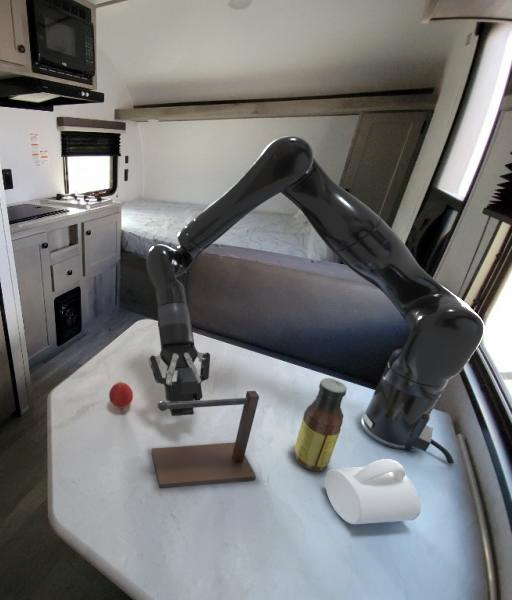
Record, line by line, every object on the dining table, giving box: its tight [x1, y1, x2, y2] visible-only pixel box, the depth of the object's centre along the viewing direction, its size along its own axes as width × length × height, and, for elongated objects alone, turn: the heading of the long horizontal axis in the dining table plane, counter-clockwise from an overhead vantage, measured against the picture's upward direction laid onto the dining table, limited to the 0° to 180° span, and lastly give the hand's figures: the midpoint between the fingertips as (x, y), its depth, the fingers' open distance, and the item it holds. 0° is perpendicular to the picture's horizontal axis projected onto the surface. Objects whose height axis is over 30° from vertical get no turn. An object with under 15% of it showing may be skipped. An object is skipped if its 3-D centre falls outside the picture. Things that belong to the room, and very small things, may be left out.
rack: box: [151, 390, 260, 489], centre depth 61 cm, size 8×19×19 cm, turn 94°
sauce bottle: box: [293, 377, 348, 472], centre depth 62 cm, size 7×6×20 cm
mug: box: [324, 458, 422, 525], centre depth 55 cm, size 8×10×12 cm
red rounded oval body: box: [108, 380, 134, 409], centre depth 79 cm, size 6×6×8 cm
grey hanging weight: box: [169, 368, 198, 417], centre depth 68 cm, size 5×5×12 cm
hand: (184, 402), depth 69 cm, fingers closed on grey hanging weight, 5 cm apart
